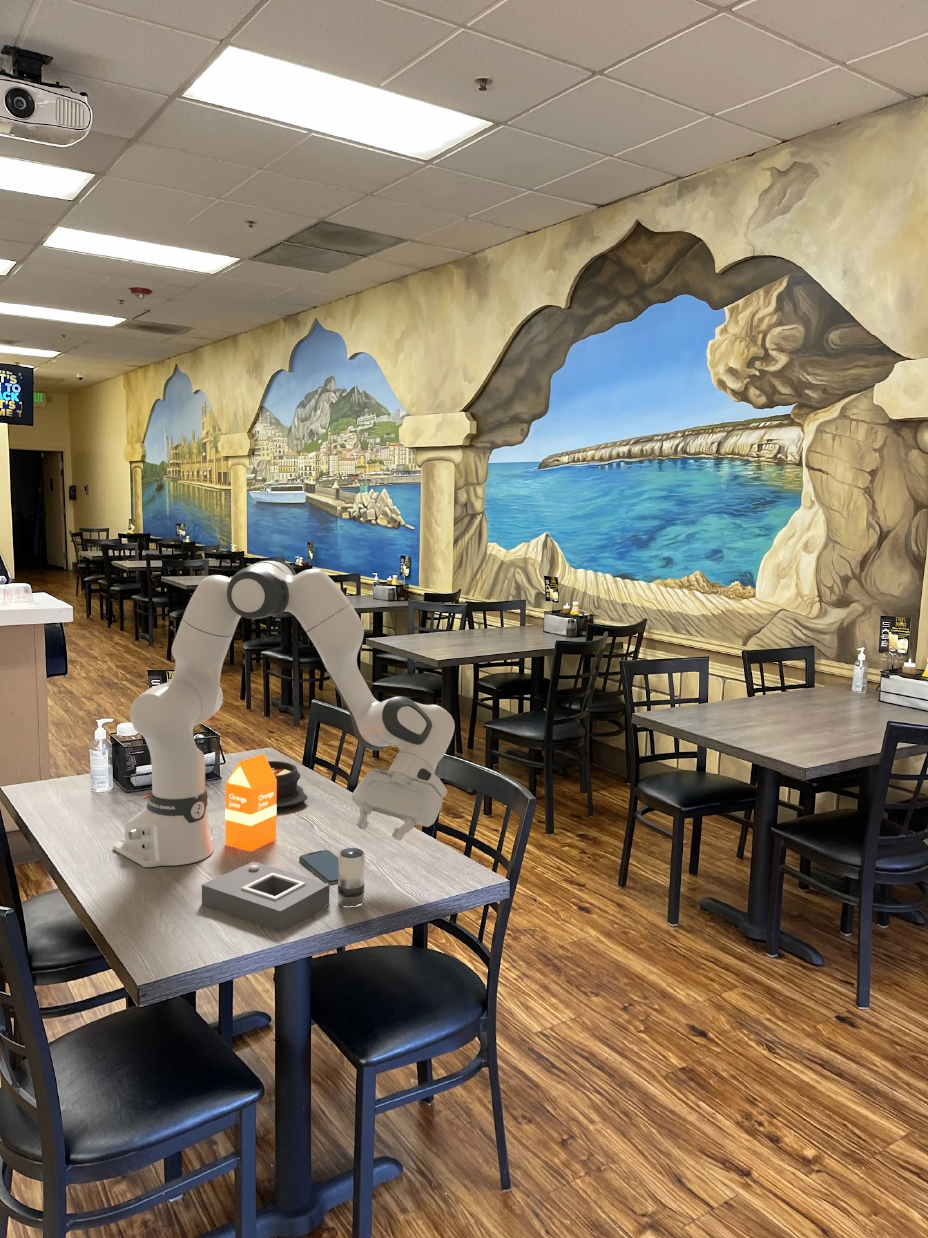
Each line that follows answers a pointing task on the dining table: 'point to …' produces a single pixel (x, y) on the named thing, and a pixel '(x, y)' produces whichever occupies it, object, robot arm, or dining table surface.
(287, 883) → the grey socket base
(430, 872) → the dining table surface
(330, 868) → the smartphone
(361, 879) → the lens
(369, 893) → the dining table surface
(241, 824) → the orange juice
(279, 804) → the casserole
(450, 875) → the dining table surface
